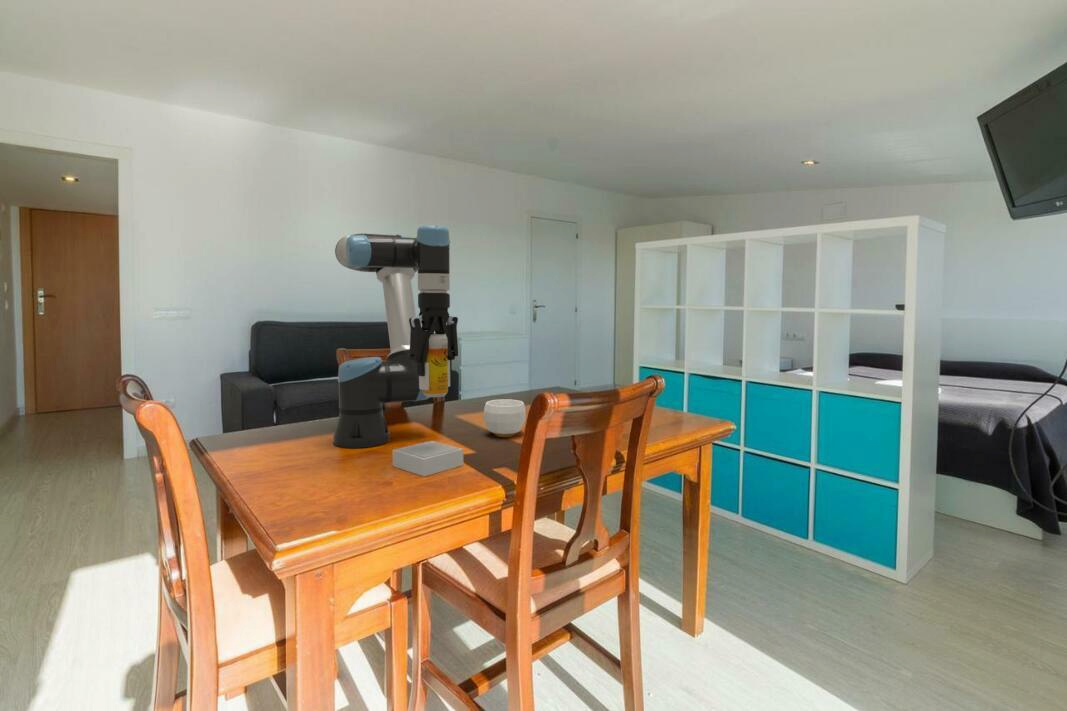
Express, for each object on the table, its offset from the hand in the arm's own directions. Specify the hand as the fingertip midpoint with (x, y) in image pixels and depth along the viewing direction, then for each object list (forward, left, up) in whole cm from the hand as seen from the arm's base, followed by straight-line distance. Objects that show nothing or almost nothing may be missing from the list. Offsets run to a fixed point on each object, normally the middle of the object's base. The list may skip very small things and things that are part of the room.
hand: (434, 387), depth 141 cm
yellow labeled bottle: (0, 0, -2) cm, 2 cm away
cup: (-8, +33, -19) cm, 38 cm away
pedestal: (0, -2, -19) cm, 19 cm away
